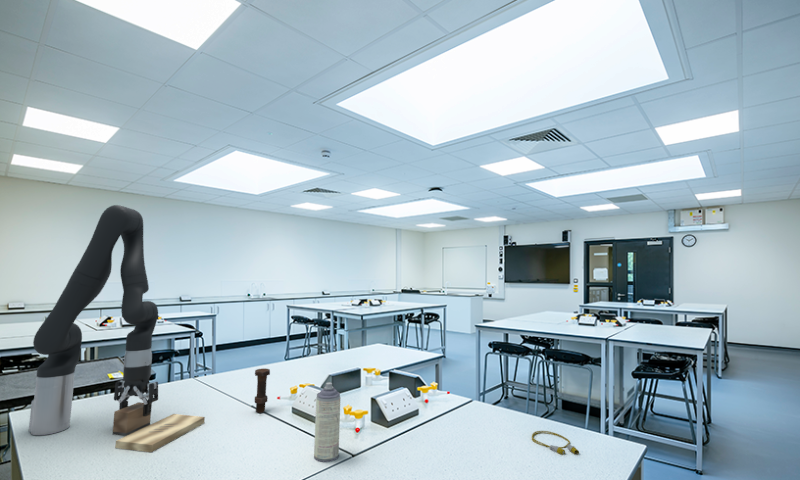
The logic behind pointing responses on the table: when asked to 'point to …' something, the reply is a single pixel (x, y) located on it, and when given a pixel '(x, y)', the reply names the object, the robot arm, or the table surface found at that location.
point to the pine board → (159, 433)
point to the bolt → (261, 389)
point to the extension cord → (556, 448)
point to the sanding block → (130, 420)
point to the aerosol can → (327, 424)
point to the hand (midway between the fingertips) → (135, 414)
